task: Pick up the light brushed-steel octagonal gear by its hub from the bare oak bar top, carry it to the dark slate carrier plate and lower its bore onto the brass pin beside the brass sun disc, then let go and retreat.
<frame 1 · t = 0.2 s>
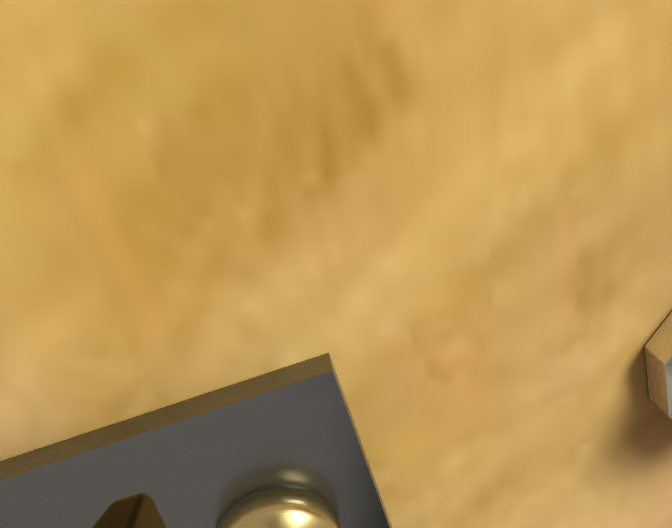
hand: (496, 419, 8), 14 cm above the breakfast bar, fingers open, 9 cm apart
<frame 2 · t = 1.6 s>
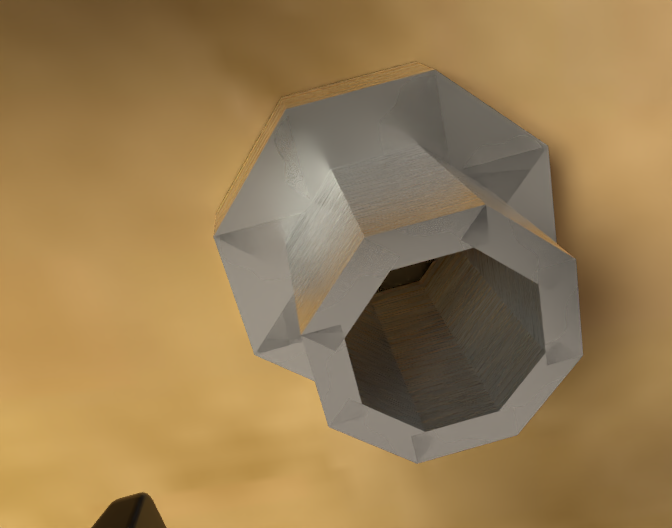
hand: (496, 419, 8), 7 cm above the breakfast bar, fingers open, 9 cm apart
planet gear: (381, 230, 14), on the breakfast bar
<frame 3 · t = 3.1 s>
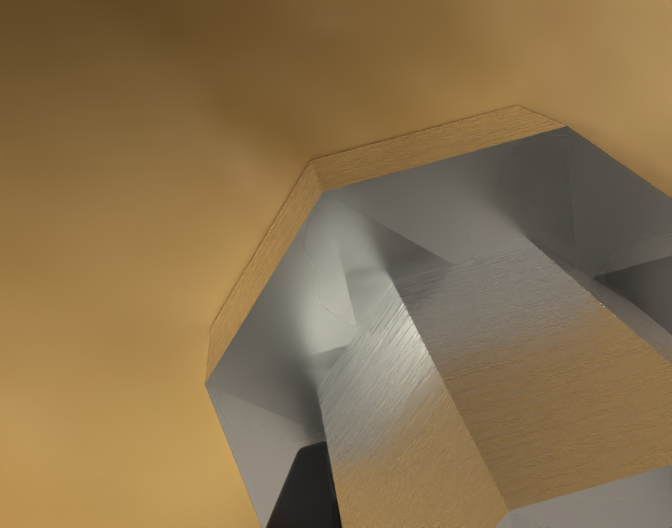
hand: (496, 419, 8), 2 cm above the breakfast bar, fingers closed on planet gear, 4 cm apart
planet gear: (452, 345, 10), on the breakfast bar, touching gripper
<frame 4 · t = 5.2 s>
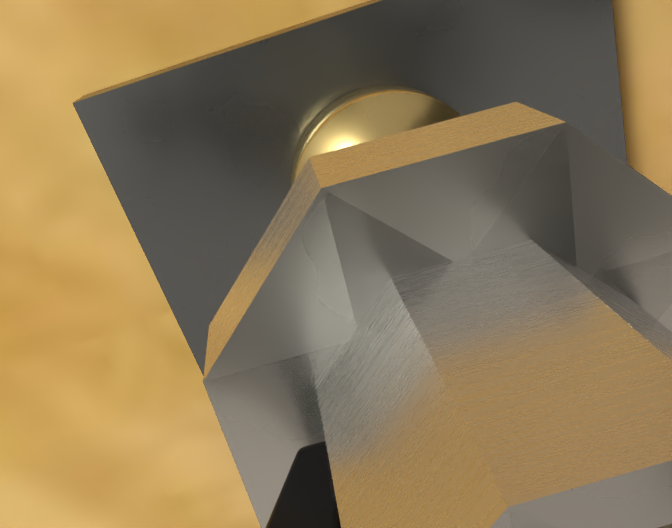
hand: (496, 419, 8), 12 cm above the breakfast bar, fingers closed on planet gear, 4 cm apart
carrier: (418, 320, 21), on the breakfast bar
planet gear: (452, 343, 10), point 10 cm above the breakfast bar, touching gripper
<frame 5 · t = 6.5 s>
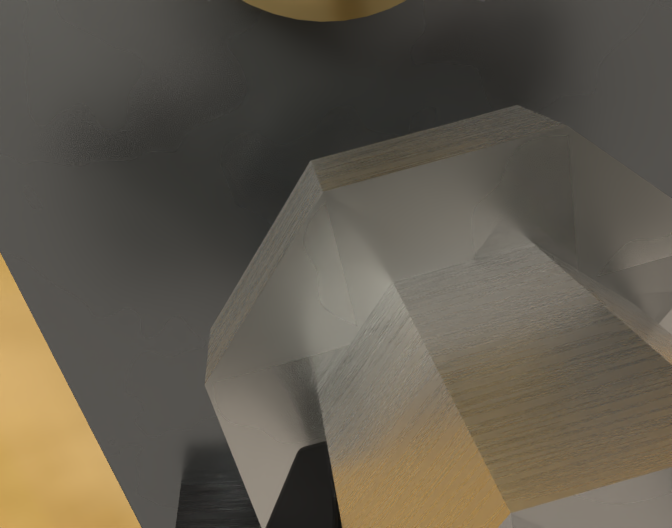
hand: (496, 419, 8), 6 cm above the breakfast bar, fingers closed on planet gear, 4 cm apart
carrier: (374, 162, 12), on the breakfast bar
planet gear: (453, 346, 10), point 4 cm above the breakfast bar, touching gripper
when the fingers open (4 cm above the breakfast bar, at t = 7.5 s): planet gear drops 1 cm, resting on carrier.
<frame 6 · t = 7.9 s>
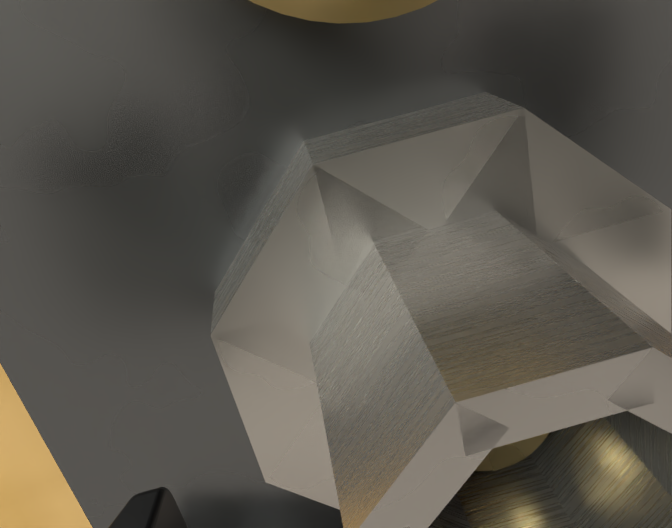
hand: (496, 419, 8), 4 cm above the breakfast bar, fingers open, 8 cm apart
carrier: (394, 184, 11), on the breakfast bar
planet gear: (432, 310, 11), point 1 cm above the breakfast bar, touching carrier
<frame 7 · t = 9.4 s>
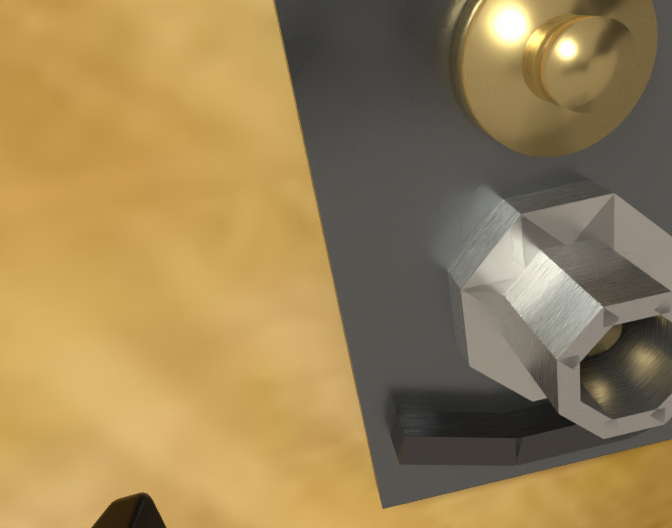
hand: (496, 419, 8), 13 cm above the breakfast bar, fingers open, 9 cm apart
carrier: (532, 218, 21), on the breakfast bar
planet gear: (550, 285, 21), point 1 cm above the breakfast bar, touching carrier
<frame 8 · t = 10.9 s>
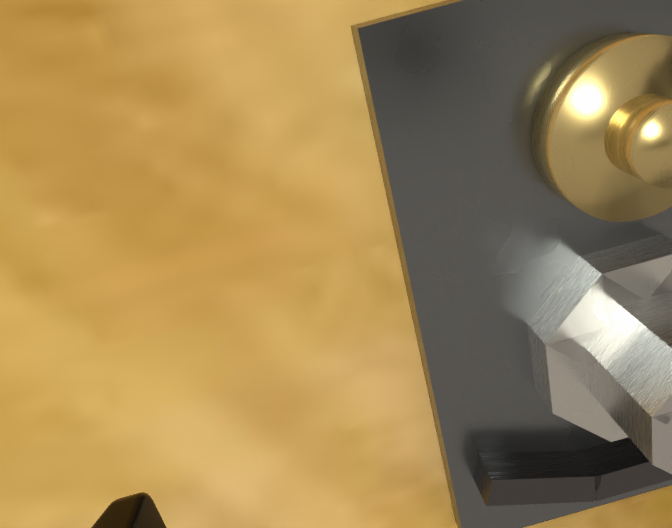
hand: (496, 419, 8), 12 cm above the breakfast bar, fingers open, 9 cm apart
carrier: (602, 268, 22), on the breakfast bar
planet gear: (624, 331, 22), point 1 cm above the breakfast bar, touching carrier
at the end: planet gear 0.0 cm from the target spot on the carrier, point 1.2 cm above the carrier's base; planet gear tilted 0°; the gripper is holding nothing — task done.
